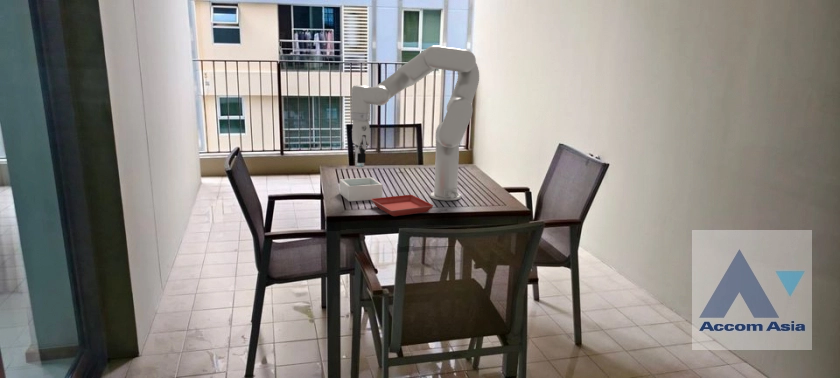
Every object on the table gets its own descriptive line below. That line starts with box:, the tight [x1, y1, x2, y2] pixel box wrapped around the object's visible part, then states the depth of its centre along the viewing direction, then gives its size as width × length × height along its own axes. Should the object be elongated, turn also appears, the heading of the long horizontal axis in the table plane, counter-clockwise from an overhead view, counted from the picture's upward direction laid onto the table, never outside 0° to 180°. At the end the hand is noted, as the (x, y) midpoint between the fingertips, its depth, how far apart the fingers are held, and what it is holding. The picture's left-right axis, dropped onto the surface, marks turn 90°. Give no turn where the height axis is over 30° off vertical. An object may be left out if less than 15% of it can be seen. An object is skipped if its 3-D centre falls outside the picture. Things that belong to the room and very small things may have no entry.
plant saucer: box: [370, 194, 434, 217], centre depth 217 cm, size 18×18×3 cm
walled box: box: [339, 176, 383, 202], centre depth 235 cm, size 14×14×6 cm
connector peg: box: [354, 146, 365, 168], centre depth 232 cm, size 4×4×8 cm
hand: (359, 161), depth 232 cm, fingers closed on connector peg, 3 cm apart
